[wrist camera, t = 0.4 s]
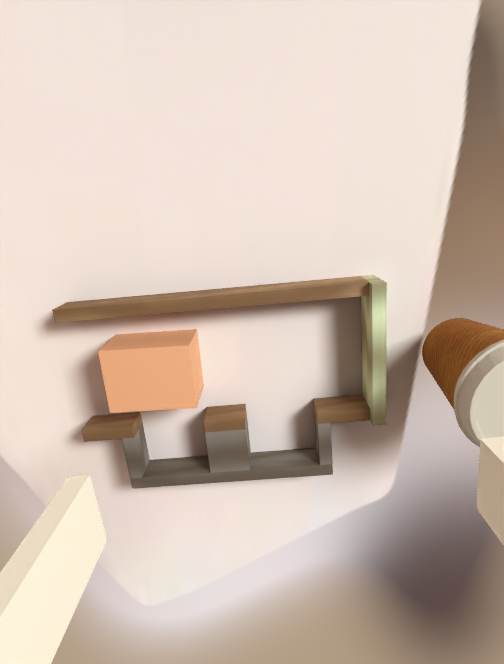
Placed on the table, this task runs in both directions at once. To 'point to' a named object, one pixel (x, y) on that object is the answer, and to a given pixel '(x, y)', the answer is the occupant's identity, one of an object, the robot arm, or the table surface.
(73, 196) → the table surface
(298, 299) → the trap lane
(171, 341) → the terracotta block
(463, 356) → the disposable coffee cup
